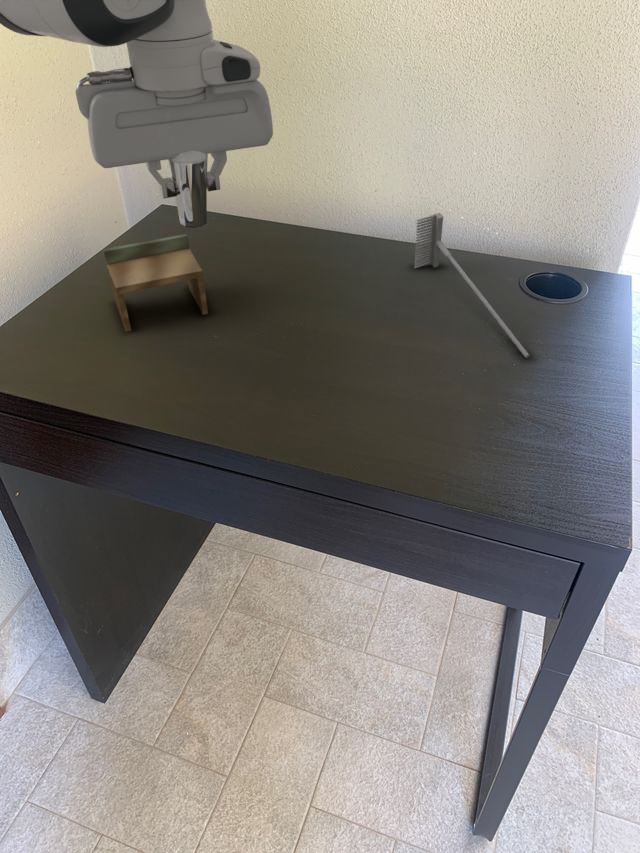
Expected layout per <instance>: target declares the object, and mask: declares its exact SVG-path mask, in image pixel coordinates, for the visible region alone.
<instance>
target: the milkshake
mask: <svg viewBox="0 0 640 853" xmlns="http://www.w3.org/2000/svg"><path fill="white" fill-rule="evenodd" d="M208 156H209V155H208V154H204V153H202V152H198V151H188V152H185V153H181V154H179V155H178V156H177V157H176V158H174V159H168V160H167V162H168V168H169V172H170V173H169V174H170V178H171V179H172V181H173V182H174V187H175V189H174V191H175V194H176V196H175V197H174V198H175V202H176V207H177V208H176V209H177V214H178V219H179V220H178V221H179V224H180V225H181V226H183V227H185V228H191V229H195V228H202V227H203V226H205V225H206V224H207V222H208V221H207V220H208V217H207V216H208V214H207V213H208V211H207V209H208V207H207V204H208V201H207V200H208V199H207V196H208V195H207V192H208V191H207V172H208V162H209V161H208V158H209V157H208Z"/></svg>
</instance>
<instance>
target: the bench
mask: <svg viewBox="0 0 640 853" xmlns="http://www.w3.org/2000/svg"><path fill="white" fill-rule="evenodd" d="M102 251H103V255H104V260H105V264H106V268H107V273H108V276H109V280H110V286H111V289H112V294H113V297H114V301H115V306H116V308H117V311H118V314H119V317H120V319H121V322H122V326H123V327H124V330H125V333H126V332H130V331H132V327H131V322H130V319H129V313H128V309H127V305H126V301H125V296H124V294H125V293H131V292H134V291H140V290H145V289H150V288H155V287H158V286H165V285H170V284H174V283H180V282H184V281H185V282H186V281H187V282H188V288H189V289H188V290H189V291H190V293H191V295H192V297H193V299H194V300H195V303H196V305H197V307H198V308H199V310H200V312H201V314H202V315H208V314H209V311H208V303H207V302H208V301H207V296H206V289H205V288H206V287H205V280H204V275H203V270H202V268H201V266H200V264H199V263H198V261H197V259H196V258H195V256H194V254H193V252H192V251H191V249H190V244H189V238H188V234H187V233H184V234H178V235H173V236H167V237H161V238H156V239H152V240H146V241H141V242H135V243H129V244H125V245H124V244H123V245H119V246H118V245H117V246H114V247H113V246H112V247H108V248H107V247H106V248H103V249H102Z"/></svg>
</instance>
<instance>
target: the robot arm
mask: <svg viewBox="0 0 640 853" xmlns="http://www.w3.org/2000/svg"><path fill="white" fill-rule="evenodd" d="M206 1H207V0H0V25H2V26H3V27H5V28H6V29H8V30H10V31H11V32H14V33H16V34H20V35H24V36H33V37H35V36H36V37H49V38H53V39H58V40H61V41H67V42H72V43H79V44H83V45H87V46H93V47H98V48H99V47H100V48H108V47H109V48H110V47H117V46H122V45H125V44H126V48H127V54H128V60H129V64H130V67H124V68H123V67H122V68H116V69H115V68H114V69H111V70H106V71H99V70H97V71H90V72H87V73H86V76H85V77H83V78H81V79H80V80H79V81H78V83H77V85H76V87H75V96H76V101H77V105H78V109H79V111H80V113H81V115H82V116H83V117H84V118H85V119H86V120H87V121H86V122H87V132H88V139H89V145H90V150H91V154H92V157H93V159H94V161H95V162H96V163H97V164H98V165H99V166H101V167H102V168H103V169H111V168H119V167H126V166H132V165H139V164H140V165H141V164H145V167H146V168H147V170H148V172H149V173H150V174H151V175H152V177H153V178H154V179H155V180H156V181H157V183H158V187H159V191H160V192H159V193H160V196H161V197H162V199H170V198H176V197H175V196H176V194H175V191H174V189H175V187H174V182H173V181H172V177H163V175H162V174H161V172H159V171H161V170H162V164H161V161H168V159H174V158H176V157H177V156H178V155H179V154H181V153H185V152H188V151H198V152H202V153H204V154H209V155H210V156H211V157H212V159H213V161H212V163H211V167H210V169H209V171H207V192H213V191H219V190H221V180H220V176H221V174H222V173H223V170H224V168H225V166H226V164H227V161H228V157H227V156H228V155H227V152H228V151H235V150H237V151H238V150H243V149H249V148H257V147H265V146H267V145H268V144H270V142H271V139H272V138H273V136H274V128H273V126H274V125H273V116H272V110H271V105H270V98H269V94H268V92H267V90H266V87H265V86H264V84H262V82H261V81H259V80H258V79H259V78H260V75H261V64H260V61H259V60H258V58H257V57H256V56H255V55H254V54H253V53H252V52H250V51H249V50H248V49H245V48H244V47H242V46H240V45H237V44H233V43H229V42H225V41H222V40H221V41H220V40H218V39H217V40H216V39H214V32H213V24H212V21H211V18H210V16H209V13H208V9H207V2H206ZM87 82H88V83H87Z"/></svg>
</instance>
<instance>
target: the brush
mask: <svg viewBox="0 0 640 853" xmlns="http://www.w3.org/2000/svg"><path fill="white" fill-rule="evenodd" d="M416 221H417V222H416V231H415V232H416V234H415V235H416V237H415V248H414V252H415V253H414V255H415V256H414V260H415V261H414V266H413V268H414V269H418V268H422V267H425V266H429V265H432V267H433V268H434V269H436V268H439V265H440V256H441V253H442V254H443V255H444V257H445V258H446V259H447V260H449V261H450V263H451V264H452V265H453V266H454V268H455V269H456V270H457V271H458V273H459V275H460V276H462V278H463V280H464V281H465V282H466V283H467V285H469V287H470V288H471V290H472V291H473V292H474V294H475V295H476V296H477V297H478V299H479V300H480V302H482V304H483V306H485V308H486V309H487V311H489V313H490V314H491V315H492V317H493V318H494V320H496V322H497V323H498V324H499V326H500V327H501V328H502V330H503V331H504V332H505V334H506V335H507V336H508V338H509V339H510V340H511V341H512V343H513V344H514V345H515V347H516V348H517V349H518V351H519V352H520V353H521V354H522V356H523V357H524V358H525V359H528V358H530V356H531V355H530V354H529V353H528V351H527V350H526V349H525V347H524V346H523V344H521V342H520V341H519V340H518V338H517V337H516V336H515V335H514V333H513V332H512V331H511V330H510V328H509V327H508V325H506V323H505V322H504V320H503V319H502V317H500V316H499V314H498V312H496V310H495V309H494V308H493V307H492V305H491V304H490V303H489V302H488V300H487V299H486V297H485V296H484V295H483V294H482V293H481V291H480V290H479V289H478V287H477V286H476V285H475V283H474V282H473V281H472V280H471V278H470V277H469V276H468V275H467V274H466V272H465V271H464V269H463V268H462V267H461V266H460V264H459V263H458V262H457V260H456V259H455V258H454V257H453V254H452V253H451V251H449V249H448V248H447V247H446V246H445V244H444V243H443V242H442V236H443V224H444V215H443V214H442V213H441V212H437V213H433V214H431V215H428V216H424V217H421V218H418V219H416Z"/></svg>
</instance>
